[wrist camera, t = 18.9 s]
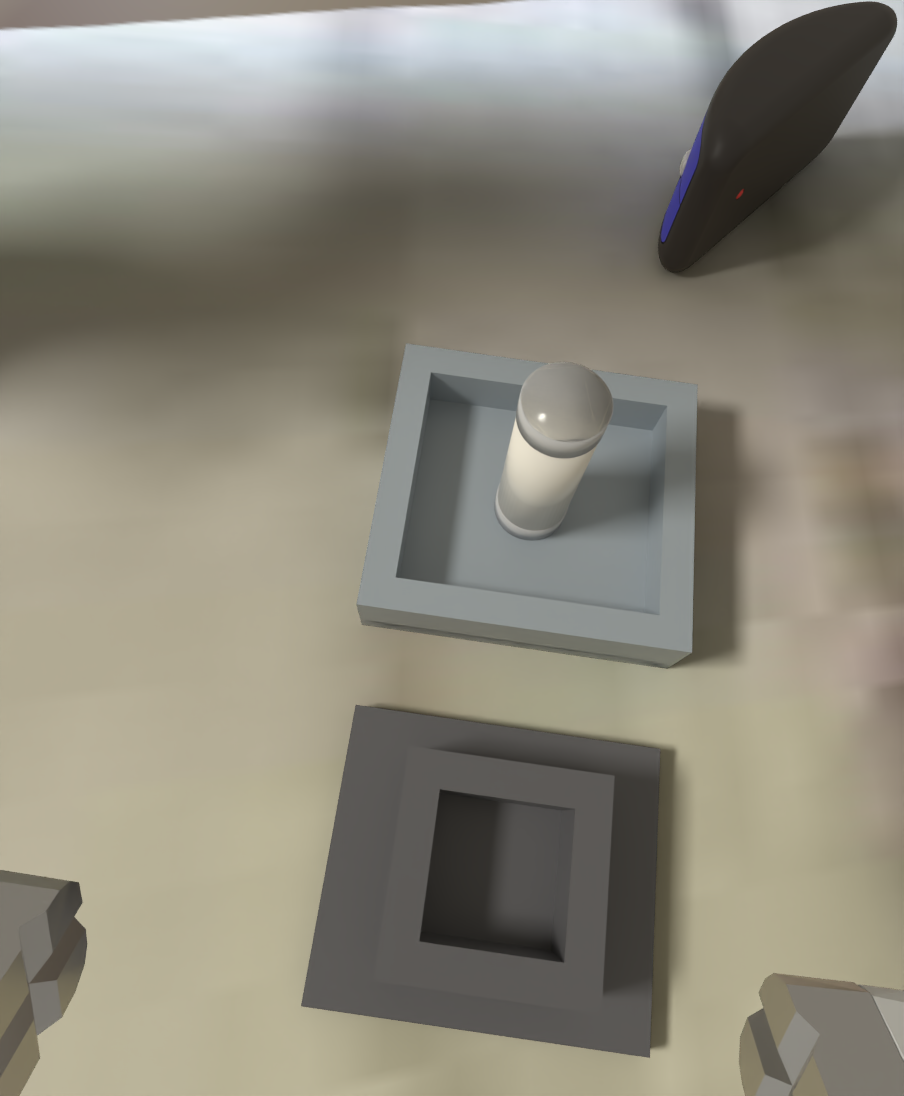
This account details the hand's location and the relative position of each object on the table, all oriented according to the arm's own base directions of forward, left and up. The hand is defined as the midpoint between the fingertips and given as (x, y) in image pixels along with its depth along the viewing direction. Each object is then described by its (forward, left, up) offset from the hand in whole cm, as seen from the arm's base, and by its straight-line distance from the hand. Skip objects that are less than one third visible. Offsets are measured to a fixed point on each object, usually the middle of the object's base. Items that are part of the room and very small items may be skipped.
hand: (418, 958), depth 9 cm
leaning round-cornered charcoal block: (+15, +40, -26) cm, 50 cm away
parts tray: (+3, +17, -25) cm, 31 cm away
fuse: (+3, +17, -24) cm, 30 cm away
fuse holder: (+3, 0, -25) cm, 26 cm away
